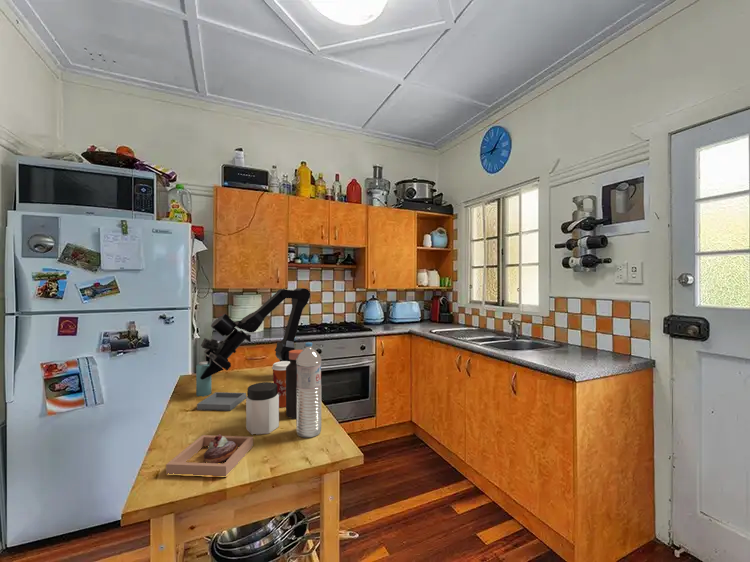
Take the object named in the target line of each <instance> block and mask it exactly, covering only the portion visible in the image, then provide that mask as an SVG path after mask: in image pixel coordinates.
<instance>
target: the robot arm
mask: <svg viewBox="0 0 750 562" xmlns="http://www.w3.org/2000/svg"><path fill="white" fill-rule="evenodd" d="M285 299H291V310H290V314H289V317H288V321H287V324H286V328H285V332H284V336H283V338H282V340H281V341H277V343H276V347H275V348H274V353H275V354H274V355H275V356H276V358H277V359H278V361H279V362H281V361H290V360H289V351H291V350H296V346H295V338H296V335H297V333H298V332H297V331H298V328H299V323H300V321H301V317H302V315H303V311H304V308H305V307H306V306H307V304H308V303H309V301H310V299H311V292H310V291H309V289H308V288H302V287H297V288H295V289H286V288H279V289H278V290H277V291H276V292H275V293H274V294H273V295H272V296H271V297H270V298H269V299H268V300H267V301H266V302H265V303H263V304H262V305H261V306H260V307H259V308H258V309H256V310H255V311H253V312H251V313H249V314H248V315H246V316H245V317H243V318H241V320H237V321H234V320H233V319H232V318H230V317H229V315H228V314H227V313H223V314H222V315H221V316H219V317H218V318H216V319H214V321H213V322H212V323H211V325H210V327H211V329H214V330H215V332H216V333H218V334H219V335H220V336H222V337H224V336H226V338H225V339H224V340H223V339H222V340H220V341H219V342H218V340H216V339H214V338H212V339H209V338H203V341H202V342H201V344H200V347H201V348H203V349H205V350H204V351H203V352H204V353H205V354H204V357H205V358H204V361H208V363H209V366H208V367H207V369H206V370H205V371H204V373H203V374H202V376H201V377H200V378H201V379H202V380H203V379H205V378H207V377H209V376H211V377H212V375H213V376H214V375H215V374H217V373H219V372H221V371H224V370H226V371H228V370H229V369H230V368H231V367H232V363H231V362H230V361H229V358H230V357H231V355H233V353H234V354H236V353H237V349H238V348H239V347H240V346H241V345H242V344H243V343H244V342H245V340H246V342H249V343H250V342H252V340H251V336H252V335H251V334H247V333H255V332H257V330H258V329H259V328H260V327H261V326H262V324H263V323H264V320H265V318H266V317H267V316H269V314H270V313H272V312H273V311H274V309H276V308H277V307H278V306H279V305H280V304H281V303H282V302H283V301H285ZM238 329H239V330H238ZM246 332H247V333H246Z"/></svg>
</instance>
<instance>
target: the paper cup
mask: <svg viewBox="0 0 750 562" xmlns="http://www.w3.org/2000/svg"><path fill="white" fill-rule="evenodd" d="M289 364H290V361H281V362H280V361H277V362H274V363H273V364H272V366H271V369H272V376H273V377H272V378H273V380H272V381H273V383H275V384H277V394H278V395H279V409H280V408H282V409H283V408H286V367H287V366H288V365H289Z"/></svg>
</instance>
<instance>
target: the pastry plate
mask: <svg viewBox="0 0 750 562" xmlns="http://www.w3.org/2000/svg"><path fill="white" fill-rule="evenodd" d="M216 436H217V435H212V434H211V435H210V434H209V435H207V434H202V435H201V436H200V437H198V438H197V439H195V440H194V441H193V442H191V444H189V445H188V446H187V447H185V448H184V449H183V450H182V451H180V452H179V453H178V454H177V455H176V456H175V457H173V458H172V459H171V460H170V461H168V462H167V463H166V464H165V465H166V466H165V473H166V474H168V473H169V474H173V473H174V474H193V475H213V476H226V475H227V474H228V473H229V472H230V471H231V470H232V469H233V468H234V467H235V466H236V465H237V464H238V462H239V461H240V460H241V459H242V458H243V457H244V458H245V457H246V455H247V454H248V453H249V452H248V451H249V450H250V451H251V449H252V448H253V447H254V436H243V435H222V436H223V437H225V438H226V439H227V441H233V442H235V443H236V444H237V447H239V448H238V449H237V450H236V451H235V452H234V453H233V455H232V456H231V457H230V458H229V459H228V460H227V461H226V462H224V463H221V464H218V463H205V462H188V461H189V460H191V459H192V458H193V457H194V456H195V455H196V454H197V453H199V452H200V451H201V450H202V449H203V448H204V447H203V446H209V443H210V442H211V439H214V438H215V437H216ZM252 446H253V447H252ZM202 447H203V448H202ZM201 448H202V449H201ZM200 449H201V450H200ZM199 450H200V451H199ZM198 451H199V452H198ZM247 452H248V453H247ZM195 453H196V454H195ZM246 453H247V454H246ZM194 454H195V455H194ZM245 454H246V455H245ZM193 455H194V456H193ZM192 456H193V457H192ZM191 457H192V458H191ZM190 458H191V459H190ZM244 458H243V459H244ZM188 459H189V460H188ZM243 459H242V460H243ZM187 460H188V461H187ZM242 460H241V461H242ZM186 461H187V462H186ZM241 461H240V462H241ZM240 462H239V463H240ZM238 465H239V464H238ZM238 465H237V466H238ZM237 466H236V467H237ZM236 467H235V468H236ZM235 468H234V469H235ZM234 469H233V470H234ZM166 474H165V475H166Z"/></svg>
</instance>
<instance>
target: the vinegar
mask: <svg viewBox="0 0 750 562" xmlns="http://www.w3.org/2000/svg"><path fill="white" fill-rule="evenodd" d="M303 350H304V349H295V350H291V351H289V360H290V364H289V365H288V366H287V367H286V407H285V415H286V417H287V418H289V419H293V420H294V419H296V417H297V416H296V407H297V406H296V404H297V403H296V394H297V393H296V387H297V364H296V359H297V357H298V355H299V354H300V353H301V352H302V351H303ZM296 420H297V419H296Z"/></svg>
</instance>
